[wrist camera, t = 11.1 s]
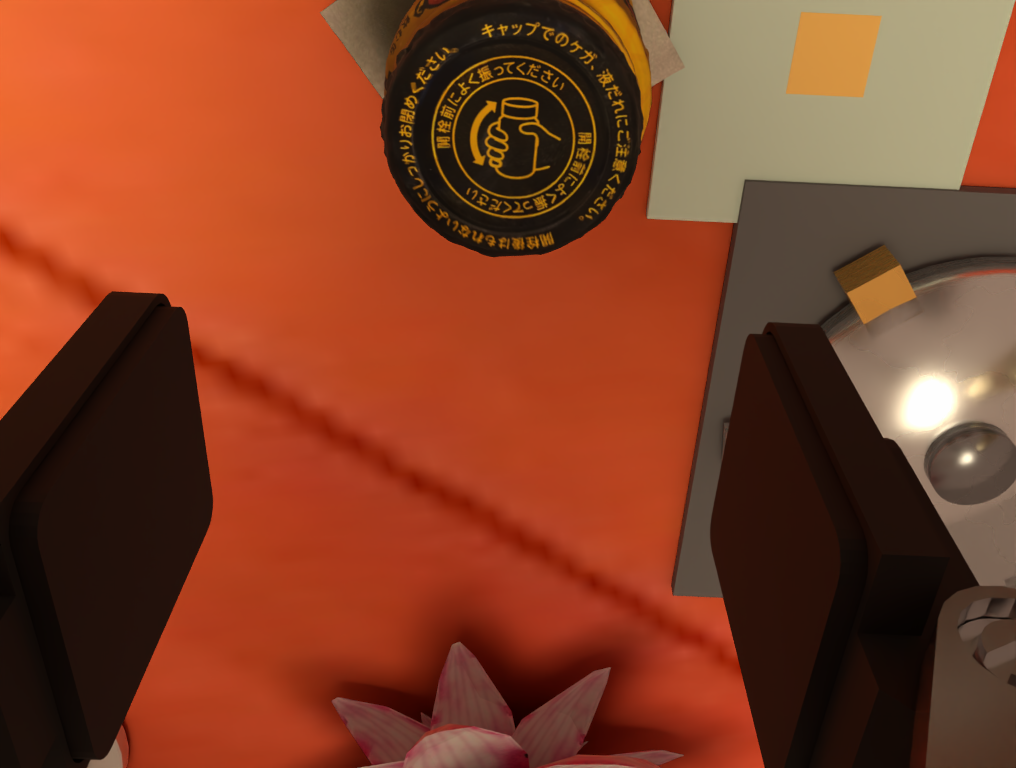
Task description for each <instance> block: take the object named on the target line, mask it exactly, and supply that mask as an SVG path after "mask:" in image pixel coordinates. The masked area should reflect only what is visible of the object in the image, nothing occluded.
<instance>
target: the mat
mask: <svg viewBox="0 0 1016 768" xmlns="http://www.w3.org/2000/svg"><path fill="white" fill-rule="evenodd" d="M1014 3H1015V0H672V7H671V15H670V23H669V31H668V36H669V38H670V40H671V42H672V44H673V46H674V47H675V49H676V51H677V53H678V55H679V57H680V58H681V60H682V62H683V64H684V66H685V68H683V69H682V70H679V71H678V72H676V73H674V74H672V75H671V76H669V77H667V78H666V79H664V80H662V88H661V96H660V104H659V112H658V121H657V129H656V137H655V145H654V153H653V161H652V169H651V178H650V186H649V194H648V202H647V210H646V216H647V219H664V220H685V221H707V222H728V223H737V221H738V215H739V210H740V204H741V198H742V192H743V187H744V181H745V180H767V181H788V182H809V183H830V184H851V185H872V186H893V187H914V188H935V189H957V190H959V189H960V186H961V182H962V179H963V176H964V172H965V169H966V165H967V162H968V159H969V155H970V152H971V148H972V145H973V142H974V138H975V135H976V131H977V128H978V125H979V121H980V118H981V115H982V111H983V108H984V104H985V101H986V98H987V94H988V91H989V87H990V84H991V81H992V77H993V74H994V71H995V67H996V64H997V60H998V57H999V54H1000V50H1001V47H1002V43H1003V40H1004V37H1005V33H1006V30H1007V27H1008V23H1009V20H1010V16H1011V13H1012V10H1013V6H1014Z"/></svg>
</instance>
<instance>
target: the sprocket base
mask: <svg viewBox="0 0 1016 768" xmlns="http://www.w3.org/2000/svg"><path fill="white" fill-rule="evenodd" d="M883 245H885V246H886V248H887V249H888V250H889V251H890V253H891V254H892V255H893V256H894V257H895V259H896V260H897V261H898V262H899V264H900V265H901V267H902V269H903V271H904V273H905V274H908V273H911V272H914V271H917V270H920V269H923V268H926V267H929V266H933V265H937V264H942V263H946V262H950V261H955V260H962V259H971V258H979V257H1016V188H998V187H977V186H960V189H959V190H957V189H935V188H914V187H893V186H872V185H851V184H830V183H809V182H788V181H767V180H745V181H744V187H743V192H742V198H741V204H740V210H739V215H738V221H737V223H734V227H733V233H732V239H731V244H730V250H729V256H728V262H727V267H726V273H725V279H724V285H723V290H722V296H721V302H720V308H719V313H718V319H717V325H716V331H715V337H714V342H713V348H712V354H711V360H710V365H709V371H708V377H707V383H706V388H705V394H704V400H703V406H702V412H701V417H700V423H699V429H698V435H697V440H696V446H695V452H694V458H693V463H692V469H691V475H690V481H689V486H688V492H687V498H686V504H685V510H684V515H683V521H682V527H681V533H680V538H679V544H678V550H677V556H676V561H675V567H674V573H673V579H672V585H671V586H672V592H673V595H675V596H698V597H720V598H723V595H722V591H721V587H720V583H719V578H718V574H717V570H716V566H715V562H714V558H713V554H712V549H711V542H710V524H711V516H712V511H713V506H714V500H715V495H716V490H717V485H718V480H719V475H720V469H721V464H722V453H723V434H724V423H730V417H731V412H732V407H733V402H734V397H735V391H736V386H737V381H738V376H739V371H740V365H741V360H742V355H743V350H744V345H745V341H746V339H747V336H748V335H749V334H762V332H763V330H764V328H765V325H766V324H767V323H768V322H779V323H801V324H819V325H820V326H822V325H823V324H824V323H825V322H826V321H827V320H828V319H829V318H831V317H832V316H833V315H835V314H836V313H837V312H839V311H840V310H841V309H843V308H844V307H845V306H847V305H848V304H849V303H850V302H849V300H848V298H847V296H846V294H845V293H844V291H843V289H842V287H841V285H840V283H839V282H838V280H837V278H836V276H835V274H834V272H835V271H837V270H839V269H841V268H843V267H844V266H846V265H848V264H850V263H852V262H854V261H855V260H857V259H859V258H861V257H863V256H865V255H866V254H868V253H870V252H872V251H874V250H876V249H878V248H879V247H881V246H883Z"/></svg>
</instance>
